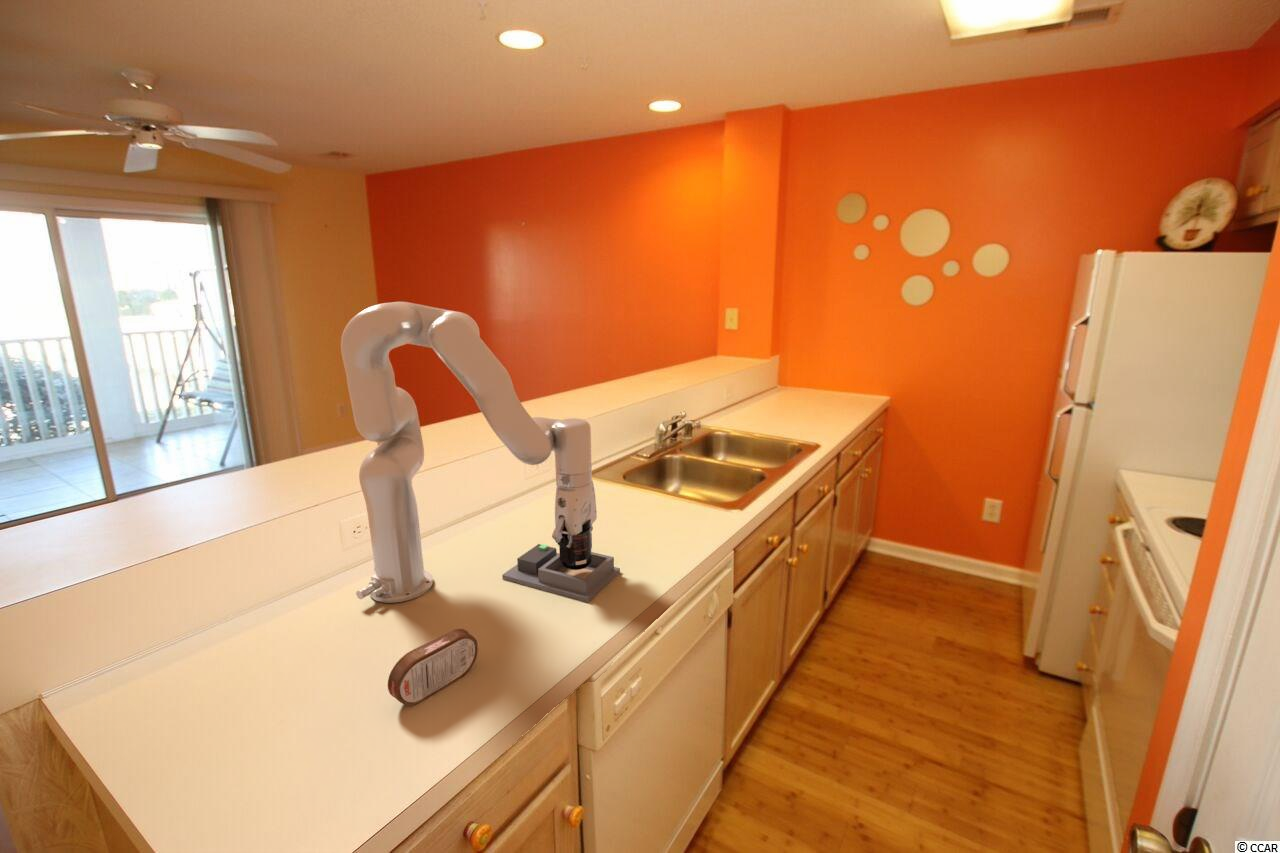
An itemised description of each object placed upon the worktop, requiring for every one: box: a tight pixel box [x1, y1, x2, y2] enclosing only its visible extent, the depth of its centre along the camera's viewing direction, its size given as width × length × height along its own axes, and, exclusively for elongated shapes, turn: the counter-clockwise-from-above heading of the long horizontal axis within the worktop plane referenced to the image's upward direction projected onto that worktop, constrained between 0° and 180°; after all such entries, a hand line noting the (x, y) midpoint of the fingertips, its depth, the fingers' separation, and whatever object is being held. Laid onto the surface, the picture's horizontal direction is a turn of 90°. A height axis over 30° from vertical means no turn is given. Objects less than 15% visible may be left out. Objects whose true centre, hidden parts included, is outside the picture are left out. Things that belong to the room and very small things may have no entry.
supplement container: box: [561, 519, 592, 570], centre depth 126 cm, size 7×7×10 cm
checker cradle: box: [501, 543, 621, 603], centre depth 129 cm, size 14×22×5 cm, turn 64°
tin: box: [387, 628, 479, 706], centre depth 94 cm, size 15×3×8 cm, turn 141°
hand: (576, 554), depth 127 cm, fingers closed on supplement container, 6 cm apart
